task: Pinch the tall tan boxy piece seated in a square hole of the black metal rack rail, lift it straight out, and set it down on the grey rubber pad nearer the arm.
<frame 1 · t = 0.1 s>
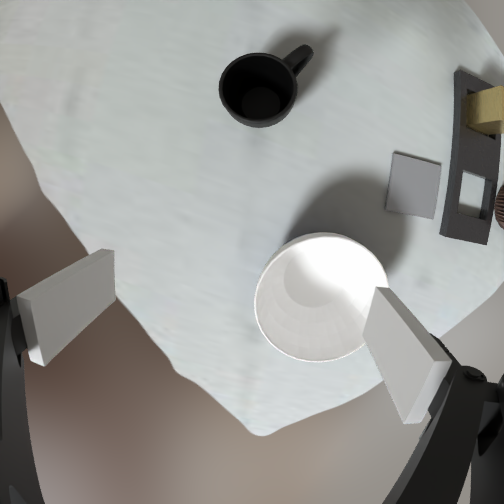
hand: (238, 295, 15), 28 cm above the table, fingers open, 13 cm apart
pad: (413, 186, 39), on the table
bowl: (313, 276, 44), on the table
rail: (473, 157, 37), on the table
tan boxy piece: (475, 115, 35), resting in rail
mug: (271, 96, 38), on the table
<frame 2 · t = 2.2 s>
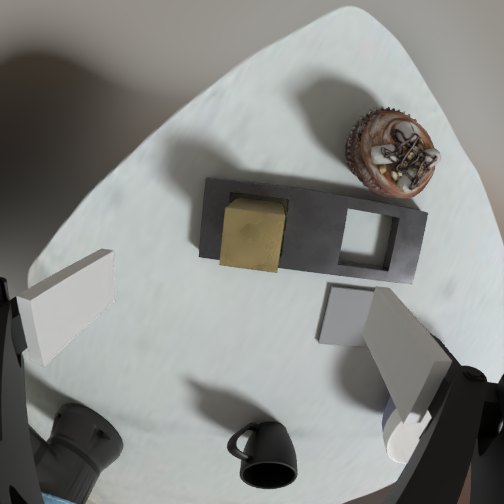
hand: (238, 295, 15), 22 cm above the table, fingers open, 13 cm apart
cupcake: (376, 153, 33), on the table
pad: (353, 317, 38), on the table
bowl: (416, 390, 41), on the table
rail: (316, 230, 36), on the table
tan boxy piece: (256, 221, 36), resting in rail
mug: (262, 425, 44), on the table
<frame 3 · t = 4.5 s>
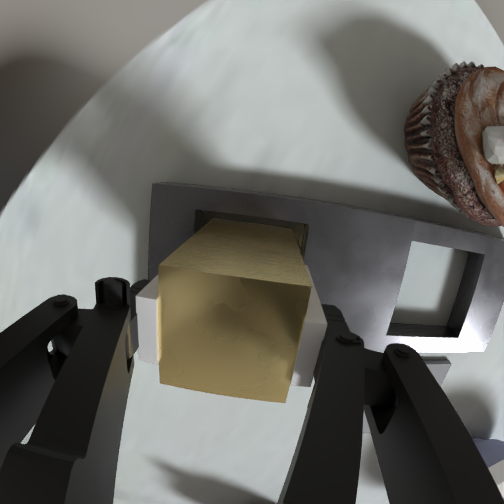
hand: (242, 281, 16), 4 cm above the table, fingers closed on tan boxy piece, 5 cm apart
cupcake: (449, 144, 17), on the table
pad: (395, 397, 22), on the table
bowl: (454, 460, 25), on the table
rail: (352, 275, 20), on the table
tan boxy piece: (247, 261, 20), resting in rail, touching gripper
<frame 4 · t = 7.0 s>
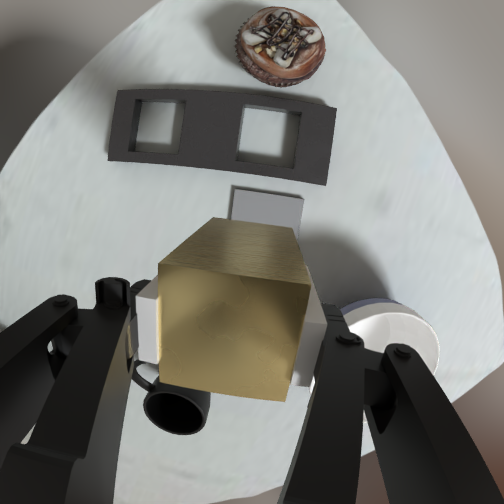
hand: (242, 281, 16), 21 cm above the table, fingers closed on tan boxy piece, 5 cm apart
cupcake: (279, 59, 32), on the table
pad: (264, 227, 37), on the table
bowl: (358, 333, 40), on the table
rail: (217, 131, 34), on the table
tan boxy piece: (247, 260, 20), point 17 cm above the table, touching gripper
mug: (181, 362, 43), on the table
when the fingers open (6 cm above the table, at t = 9.7 s): tan boxy piece drops 1 cm, resting on pad.
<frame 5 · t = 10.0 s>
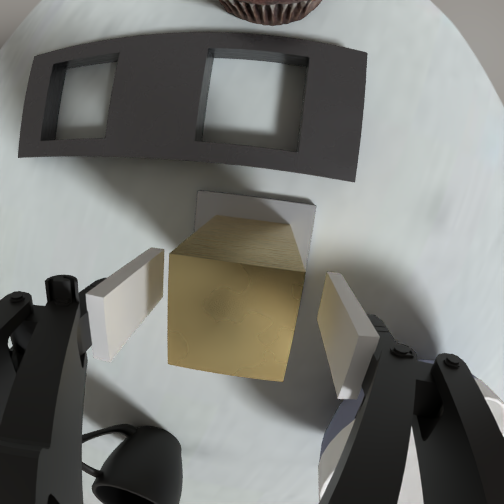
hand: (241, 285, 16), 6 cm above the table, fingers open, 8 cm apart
pad: (250, 253, 22), on the table
bowl: (390, 398, 25), on the table
rail: (169, 98, 19), on the table
tan boxy piece: (248, 255, 21), point 1 cm above the table, touching pad
mug: (144, 430, 28), on the table
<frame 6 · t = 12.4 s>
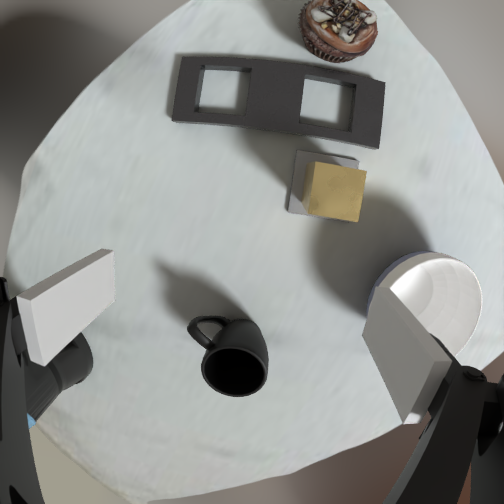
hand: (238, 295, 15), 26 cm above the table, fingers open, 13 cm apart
cupcake: (332, 39, 33), on the table
pad: (323, 186, 38), on the table
bowl: (405, 291, 41), on the table
rail: (279, 98, 36), on the table
tan boxy piece: (323, 186, 38), point 1 cm above the table, touching pad
mug: (234, 325, 45), on the table
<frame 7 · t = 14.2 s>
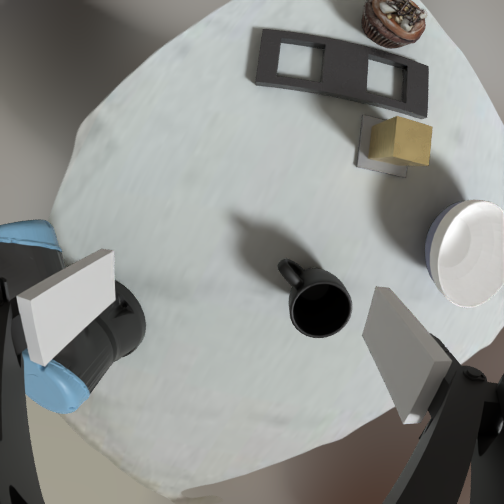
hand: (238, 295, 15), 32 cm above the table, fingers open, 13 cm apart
cupcake: (383, 29, 36), on the table
pad: (384, 146, 41), on the table
bowl: (448, 241, 44), on the table
rail: (346, 72, 39), on the table
tan boxy piece: (385, 146, 41), point 1 cm above the table, touching pad
mug: (305, 275, 48), on the table
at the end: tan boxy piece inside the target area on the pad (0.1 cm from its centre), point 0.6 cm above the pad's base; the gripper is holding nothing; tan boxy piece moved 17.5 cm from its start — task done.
